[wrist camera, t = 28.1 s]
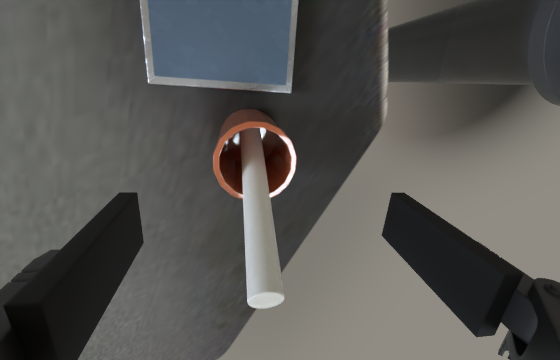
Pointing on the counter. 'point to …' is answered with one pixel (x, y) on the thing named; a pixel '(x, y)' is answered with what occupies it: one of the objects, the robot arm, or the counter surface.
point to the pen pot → (275, 151)
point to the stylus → (259, 226)
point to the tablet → (220, 43)
